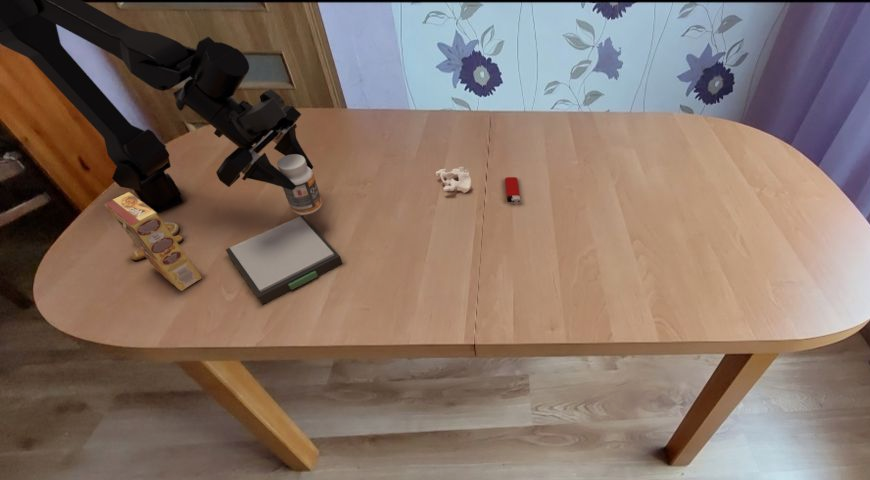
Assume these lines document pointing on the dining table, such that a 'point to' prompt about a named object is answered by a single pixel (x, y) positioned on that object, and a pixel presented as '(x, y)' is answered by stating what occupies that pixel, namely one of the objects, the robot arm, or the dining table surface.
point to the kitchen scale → (283, 258)
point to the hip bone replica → (460, 185)
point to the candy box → (153, 240)
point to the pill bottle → (300, 184)
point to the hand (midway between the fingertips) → (303, 178)
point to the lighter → (512, 190)
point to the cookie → (174, 230)
